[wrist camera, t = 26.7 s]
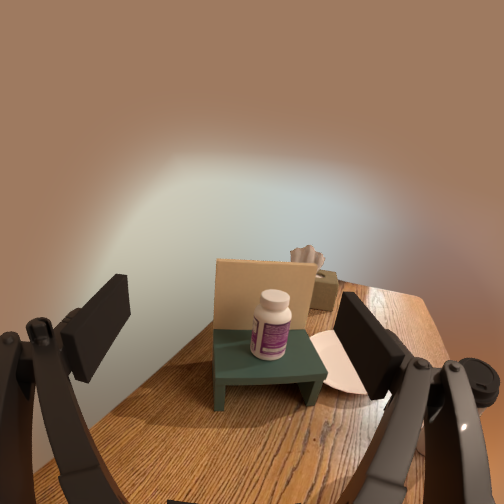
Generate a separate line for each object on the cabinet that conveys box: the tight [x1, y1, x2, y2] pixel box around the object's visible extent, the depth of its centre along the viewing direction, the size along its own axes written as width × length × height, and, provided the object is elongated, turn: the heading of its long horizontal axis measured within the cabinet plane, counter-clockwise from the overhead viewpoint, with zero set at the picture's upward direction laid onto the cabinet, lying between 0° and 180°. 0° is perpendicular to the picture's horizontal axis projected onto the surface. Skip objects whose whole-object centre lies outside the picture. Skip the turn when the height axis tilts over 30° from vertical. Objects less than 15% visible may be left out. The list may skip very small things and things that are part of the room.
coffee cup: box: [416, 358, 500, 456], centre depth 25 cm, size 9×9×15 cm
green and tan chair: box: [212, 259, 328, 411], centre depth 40 cm, size 16×13×20 cm
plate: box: [310, 330, 367, 394], centre depth 48 cm, size 21×21×2 cm
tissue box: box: [290, 245, 339, 311], centre depth 74 cm, size 19×10×16 cm, turn 78°
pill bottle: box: [250, 289, 292, 361], centre depth 38 cm, size 5×5×10 cm
